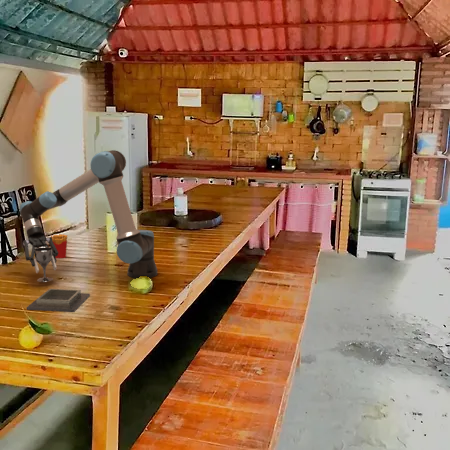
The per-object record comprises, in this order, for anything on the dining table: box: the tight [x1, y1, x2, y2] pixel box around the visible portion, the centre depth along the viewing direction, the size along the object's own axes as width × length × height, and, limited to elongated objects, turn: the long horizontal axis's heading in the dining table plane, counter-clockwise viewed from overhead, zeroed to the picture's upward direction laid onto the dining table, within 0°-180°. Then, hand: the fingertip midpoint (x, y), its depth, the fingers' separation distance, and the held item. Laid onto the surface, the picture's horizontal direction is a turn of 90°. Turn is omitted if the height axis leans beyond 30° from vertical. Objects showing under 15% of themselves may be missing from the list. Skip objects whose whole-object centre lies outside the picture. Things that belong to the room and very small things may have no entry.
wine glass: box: [34, 246, 54, 283], centre depth 243 cm, size 8×8×15 cm
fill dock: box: [26, 288, 91, 313], centre depth 221 cm, size 20×20×4 cm
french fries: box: [50, 233, 68, 259], centre depth 290 cm, size 9×4×13 cm, turn 99°
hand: (46, 270), depth 241 cm, fingers closed on wine glass, 7 cm apart
